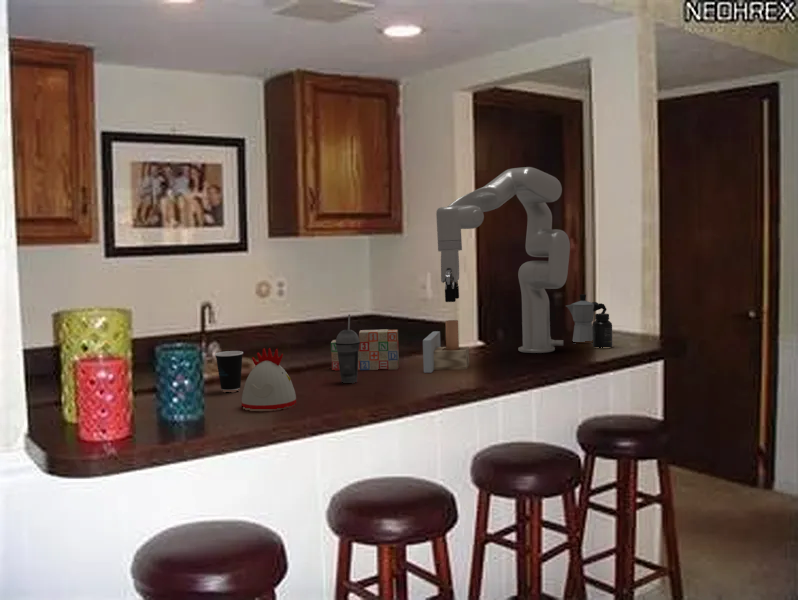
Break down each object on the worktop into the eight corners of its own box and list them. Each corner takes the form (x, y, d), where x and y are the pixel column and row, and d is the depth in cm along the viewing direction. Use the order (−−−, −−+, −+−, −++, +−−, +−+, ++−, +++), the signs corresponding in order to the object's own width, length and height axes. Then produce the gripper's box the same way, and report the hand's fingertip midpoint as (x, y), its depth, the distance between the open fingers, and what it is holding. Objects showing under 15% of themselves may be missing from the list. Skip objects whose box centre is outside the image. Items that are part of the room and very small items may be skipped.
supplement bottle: (612, 346, 298) (611, 312, 297) (612, 349, 291) (612, 314, 290) (592, 346, 299) (592, 313, 298) (592, 349, 293) (592, 315, 292)
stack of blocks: (331, 371, 265) (329, 332, 264) (334, 368, 271) (332, 330, 270) (398, 369, 264) (397, 331, 263) (399, 366, 270) (398, 328, 269)
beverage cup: (350, 379, 249) (347, 312, 247) (366, 381, 243) (364, 313, 242) (331, 382, 243) (328, 314, 242) (348, 385, 238) (345, 316, 237)
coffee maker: (566, 344, 307) (565, 295, 305) (565, 341, 315) (564, 293, 314) (608, 343, 304) (607, 294, 303) (606, 340, 313) (605, 292, 311)
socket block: (469, 365, 269) (468, 346, 268) (466, 370, 259) (465, 351, 259) (438, 365, 271) (437, 346, 270) (434, 370, 261) (433, 351, 260)
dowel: (459, 363, 266) (458, 320, 265) (458, 365, 263) (457, 321, 261) (447, 363, 267) (446, 320, 266) (445, 365, 263) (444, 321, 262)
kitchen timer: (287, 412, 206) (284, 351, 204) (234, 412, 208) (231, 352, 207) (302, 400, 219) (300, 344, 218) (252, 400, 221) (249, 344, 220)
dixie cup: (247, 388, 239) (245, 350, 238) (242, 393, 231) (240, 354, 231) (219, 389, 239) (217, 351, 238) (214, 394, 231) (211, 355, 231)
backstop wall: (440, 361, 277) (440, 331, 276) (431, 372, 255) (430, 340, 254) (433, 361, 277) (432, 331, 276) (423, 372, 256) (422, 340, 255)
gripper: (441, 245, 271) (444, 297, 273) (434, 248, 254) (436, 303, 256) (464, 244, 270) (466, 297, 271) (458, 246, 253) (461, 302, 254)
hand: (452, 300), depth 263 cm, fingers open, 9 cm apart
